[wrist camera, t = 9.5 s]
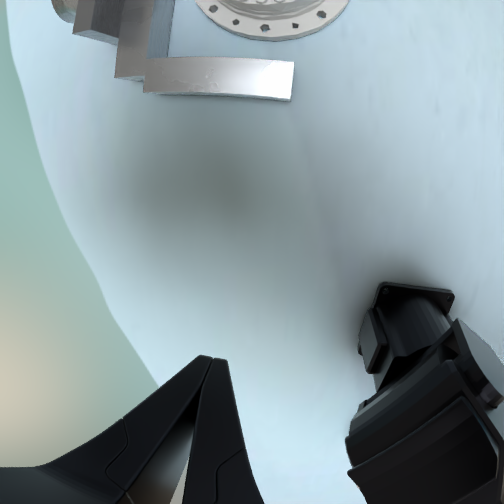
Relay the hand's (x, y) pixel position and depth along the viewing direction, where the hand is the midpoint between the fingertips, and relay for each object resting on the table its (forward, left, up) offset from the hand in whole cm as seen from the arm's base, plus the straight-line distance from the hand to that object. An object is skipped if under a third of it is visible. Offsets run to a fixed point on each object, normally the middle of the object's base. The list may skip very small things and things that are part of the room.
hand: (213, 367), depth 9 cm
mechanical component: (+1, -17, -14) cm, 21 cm away
